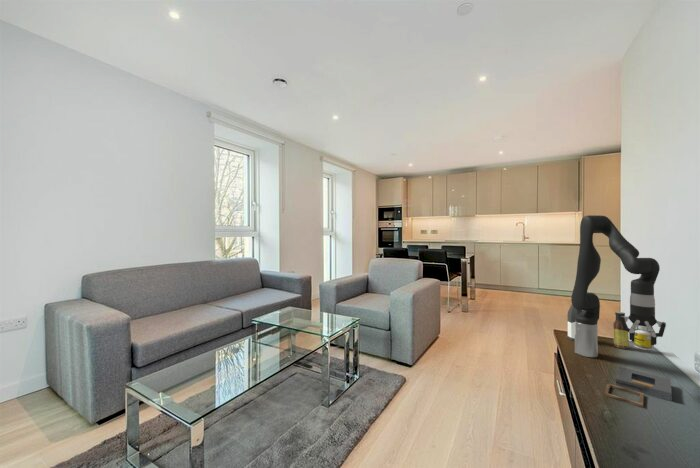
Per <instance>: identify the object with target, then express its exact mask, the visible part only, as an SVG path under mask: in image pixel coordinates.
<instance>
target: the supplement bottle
mask: <svg viewBox="0 0 700 468" xmlns="http://www.w3.org/2000/svg"><path fill="white" fill-rule="evenodd" d="M633 346H634V347H635V348H637V349H640V350H643V351H644V350H645V351H649V350H650V351H651V350H652V349H653V346H652V334H651V333H650V331H649V329H648V328H647V326H641V325H638V326H637V327H636V329H635V330H634V342H633Z"/></svg>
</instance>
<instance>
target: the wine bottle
mask: <svg viewBox="0 0 700 468" xmlns="http://www.w3.org/2000/svg"><path fill="white" fill-rule="evenodd" d="M582 311H583V310H577V309H575V308H574V307H573V305H572V304H571V306H569V309H568V310H567V339H569V340H570V341H573V342H575V335H576V330H575V317H576V315H578V314H580V313H581V312H582Z"/></svg>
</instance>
